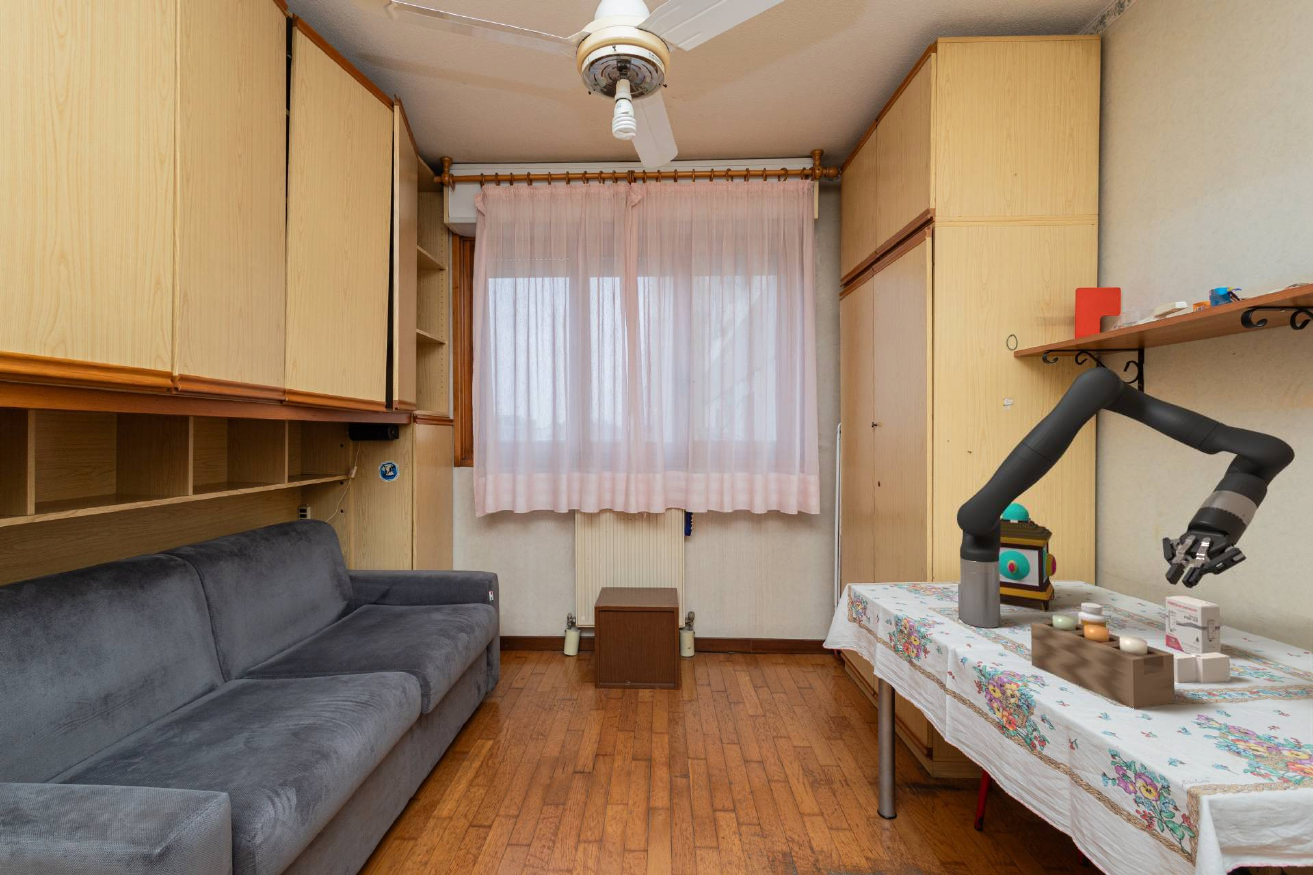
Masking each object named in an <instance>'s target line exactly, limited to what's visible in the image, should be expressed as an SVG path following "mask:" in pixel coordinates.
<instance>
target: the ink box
mask: <svg viewBox="0 0 1313 875" xmlns="http://www.w3.org/2000/svg"><path fill="white" fill-rule="evenodd" d="M1220 609H1221V608H1220V605H1219V604H1217V603H1212V602H1210V601H1207V600H1202V599H1198V598H1194V597H1191V596H1189V595H1188V596H1187V595H1175V596H1173V595H1172V596H1165V646H1167V647H1170V648H1172V649H1175V650H1178V651H1181V652H1182V653H1185V654H1188V655H1191V653H1197V654H1203V653H1213V652H1217V653H1220V654H1222V653H1221V651H1222V649H1221V614H1220V613H1221V612H1220V611H1221V610H1220Z"/></svg>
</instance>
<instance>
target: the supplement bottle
mask: <svg viewBox="0 0 1313 875" xmlns="http://www.w3.org/2000/svg"><path fill="white" fill-rule="evenodd" d="M1080 608H1081V610H1082V611H1080V612H1078V614H1077V623H1078V624H1081V625H1084V626H1085V625H1097V626H1102V627H1105V628H1107V618H1106V616H1105V615H1104V614H1102V613H1103V606H1102V605H1101V604H1098V603H1094V602H1082V603H1081V606H1080Z"/></svg>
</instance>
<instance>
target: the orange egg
mask: <svg viewBox="0 0 1313 875" xmlns="http://www.w3.org/2000/svg"><path fill="white" fill-rule="evenodd" d="M1109 634H1110V629H1109V628H1107V627H1106V628H1105V627H1102V626H1097V625H1085V626H1084V638H1086V639H1089V640H1092V641H1095V642H1098V643H1104V642H1109Z"/></svg>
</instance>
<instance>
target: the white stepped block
mask: <svg viewBox="0 0 1313 875" xmlns="http://www.w3.org/2000/svg"><path fill="white" fill-rule="evenodd" d="M1173 654H1174V683H1178V684H1179V683H1181V682H1182V683H1190V682H1198V683H1201V684H1209V682H1210V683H1217V682H1227V681H1230V680H1231V663H1230V662H1231V661H1230V660H1231V656H1230V655H1227V654H1223V653H1221V654H1220V653H1217V652H1213V653H1203V654H1197V653H1191V654H1189V653H1186V652H1177V653H1173ZM1182 683H1181V684H1182Z"/></svg>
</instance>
